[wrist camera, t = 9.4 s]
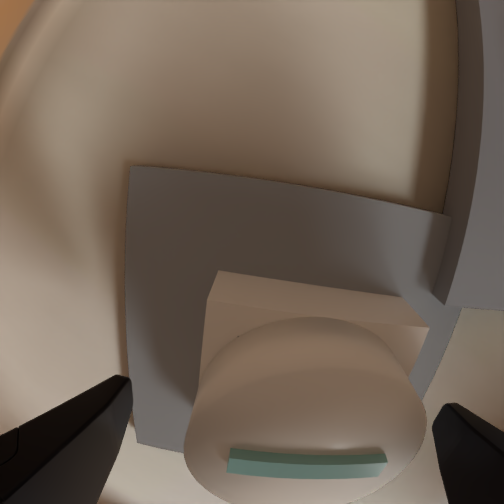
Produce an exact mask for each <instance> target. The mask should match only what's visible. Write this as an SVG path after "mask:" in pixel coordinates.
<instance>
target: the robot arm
mask: <svg viewBox="0 0 504 504" xmlns="http://www.w3.org/2000/svg"><path fill="white" fill-rule="evenodd" d="M132 408H133V391H132V381H131V379H130V378H129V377H125V376H121V375H114V376H112V377H110V378H109V379H107V380H105V381H103V382H101V383H99V384H98V385H96V386H94V387H92V388H90V389H89V390H87V391H85V392H83V393H81V394H79V395H77V396H76V397H74V398H72V399H70V400H68V401H66V402H64V403H63V404H61V405H59V406H57V407H55V408H53V409H51V410H49V411H47V412H46V413H44V414H42V415H40V416H38V417H36V418H34V419H32V420H30V421H28V422H26V423H24V424H22V425H20V426H19V428H18V427H16V428H14V429H12V430H10V431H8V432H6V433H4V434H2V435H0V504H97V502H98V499H99V497H100V494H101V492H102V490H103V488H104V485H105V483H106V481H107V478H108V476H109V474H110V471H111V469H112V467H113V465H114V462H115V460H116V458H117V455H118V453H119V450H120V447H121V444H122V440H123V437H124V434H125V430H126V427H127V424H128V421H129V417H130V414H131V411H132ZM432 431H433V436H434V441H435V447H436V452H437V458H438V463H439V469H440V473H441V476H442V480H443V484H444V488H445V491H446V495H447V499H448V503H449V504H504V432H503V431H501V430H499V429H498V428H496V427H495V426H493V425H491V424H490V423H488V422H487V421H485V420H483V419H482V418H480V417H479V416H477V415H475V414H474V413H472V412H471V411H469V410H467V409H466V408H464V407H463V406H461V405H459V404H458V403H447V404H445V405H443V407H442V408H441V410H440V412H439V414H438V415H437V417H436V419H435V420H434V422H433V425H432Z"/></svg>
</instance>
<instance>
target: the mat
mask: <svg viewBox="0 0 504 504" xmlns="http://www.w3.org/2000/svg"><path fill="white" fill-rule="evenodd" d="M451 220H452V217H449V216H447V215H444V214H440V213H436V212H432V211H428V210H424V209H420V208H415V207H411V206H406V205H402V204H397V203H393V202H388V201H383V200H379V199H374V198H369V197H364V196H359V195H354V194H348V193H343V192H338V191H332V190H327V189H321V188H315V187H309V186H303V185H297V184H291V183H285V182H278V181H272V180H265V179H258V178H251V177H243V176H236V175H228V174H220V173H211V172H203V171H194V170H184V169H174V168H164V167H152V166H140V165H136V166H130V176H129V187H128V201H127V218H126V241H125V315H126V339H127V355H128V369H129V378H130V379H131V381H132V391H133V408H132V409H133V417H134V424H135V432H136V438H137V443H140V444H144V445H148V446H153V447H157V448H161V449H166V450H170V451H175V452H180V453H184V441H185V436H186V432H187V429H188V425H189V421H190V417H191V414H192V410H193V406H194V402H195V399H196V395H197V391H198V386H199V374H200V363H201V353H202V343H203V333H204V323H205V314H206V304H207V298H208V296H209V293H210V291H211V288H212V286H213V283H214V280H215V278H216V275H217V273H218V270H220V271H226V272H232V273H238V274H245V275H251V276H257V277H264V278H270V279H277V280H284V281H290V282H297V283H304V284H310V285H317V286H324V287H331V288H338V289H345V290H353V291H360V292H367V293H374V294H382V295H389V296H397V297H402V298H403V299H404V300H405V301H406V302H407V303H408V304H409V305H410V306H411V307H412V308H413V310H414V311H415V312H416V313H417V314H418V315H419V316H420V317H421V318H422V320H423V321H424V322H425V323H426V324H427V325H428V326H429V327H430V328H429V331H428V333H427V336H426V338H425V341H424V343H423V346H422V348H421V351H420V353H419V355H418V358H417V360H416V362H415V364H414V367H413V369H412V371H411V373H410V375H409V378H408V379H409V381H410V382H411V384H412V386H413V388H414V389H415V391H416V393H417V395H418V396H419V398H420V400H421V401H422V399H423V397H424V395H425V393H426V391H427V389H428V387H429V385H430V383H431V381H432V379H433V377H434V374H435V372H436V370H437V368H438V366H439V364H440V361H441V359H442V357H443V355H444V352H445V350H446V348H447V345H448V343H449V340H450V338H451V335H452V333H453V330H454V328H455V325H456V322H457V320H458V317H459V314H460V312H461V309H462V307H453V306H444V305H443V304H442V303H441V302H440V301H439V300H438V299H437V298H436V297H435V296H433V295H432V292H433V289H434V286H435V282H436V279H437V276H438V272H439V269H440V265H441V261H442V258H443V254H444V250H445V246H446V242H447V238H448V233H449V229H450V225H451ZM238 337H239V336H238Z"/></svg>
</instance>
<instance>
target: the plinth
mask: <svg viewBox="0 0 504 504" xmlns="http://www.w3.org/2000/svg"><path fill="white" fill-rule="evenodd" d="M456 8H457V22H458V44H459V79H458V103H457V117H456V129H455V139H454V147H453V155H452V163H451V170H450V176H449V183H448V188H447V194H446V200H445V205H444V210H443V214H444V215H447V216H449V217H452V220H451V225H450V229H449V233H448V238H447V242H446V246H445V250H444V254H443V258H442V261H441V265H440V269H439V272H438V276H437V279H436V282H435V286H434V289H433V292H432V295H433V296H435V297H436V298H437V299H438V300H439V301H440V302H441V303H442V304H443V305H444V306H453V307H464V308H475V309H487V310H499V311H504V0H456Z"/></svg>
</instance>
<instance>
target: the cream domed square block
mask: <svg viewBox="0 0 504 504" xmlns="http://www.w3.org/2000/svg"><path fill="white" fill-rule="evenodd" d="M429 328H430V327H429V326H428V325H427V324H426V323H425V322H424V321H423V320H422V318H421V317H420V316H419V315H418V314H417V313H416V312H415V311H414V310H413V308H412V307H411V306H410V305H409V304H408V303H407V302H406V301H405V300H404V299H403V298H402V297H397V296H389V295H382V294H374V293H367V292H360V291H353V290H345V289H338V288H331V287H324V286H317V285H310V284H304V283H297V282H290V281H284V280H277V279H270V278H264V277H257V276H251V275H245V274H238V273H232V272H226V271H220V270H218V273H217V275H216V278H215V280H214V283H213V286H212V288H211V291H210V293H209V296H208V298H207V304H206V314H205V323H204V333H203V343H202V353H201V363H200V374H199V386H198V391H197V395H196V399H195V402H194V406H193V410H192V414H191V417H190V421H189V425H188V429H187V432H186V436H185V441H184V458H185V461H186V464H187V467H188V468H189V470H190V472H191V474H192V475H193V476H194V478H195V479H196V480H197V481H198V482H199V483H200V484H201V485H202V486H203V487H204V488H205V489H207V490H208V491H209V492H211V493H212V494H214V495H215V496H217V497H219V498H221V499H223V500H225V501H227V502H229V503H232V504H348V503H351V502H353V501H356V500H358V499H361V498H363V497H365V496H367V495H369V494H371V493H373V492H374V491H376V490H378V489H380V488H381V487H383V486H384V485H386V484H387V483H389V482H390V481H391V480H392V479H394V478H395V477H396V476H397V475H399V474H400V473H401V472H402V471H403V470H404V469H405V468H406V467H407V466H408V464H409V463H410V462H411V461H412V459H413V458H414V457H415V455H416V454H417V452H418V450H419V449H420V447H421V444H422V442H423V440H424V436H425V433H426V426H427V418H426V411H425V409H424V406H423V404H422V402H421V400H420V398H419V396H418V395H417V393H416V391H415V389H414V388H413V386H412V384H411V382H410V381H409V379H408V378H409V375H410V373H411V371H412V369H413V367H414V364H415V362H416V360H417V358H418V355H419V353H420V351H421V348H422V346H423V343H424V341H425V338H426V336H427V333H428V331H429ZM238 336H239V337H238Z"/></svg>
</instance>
